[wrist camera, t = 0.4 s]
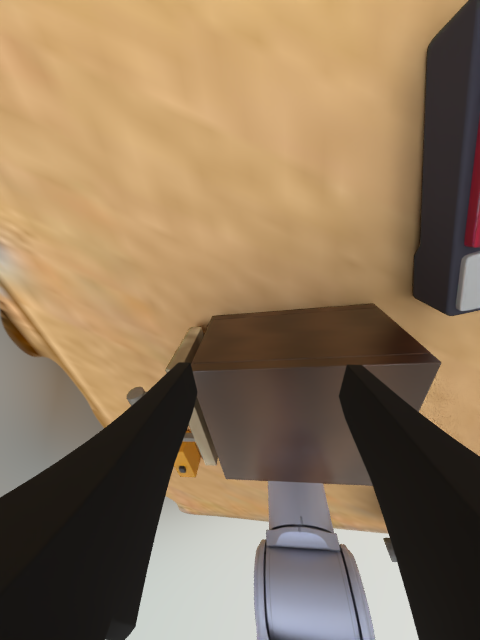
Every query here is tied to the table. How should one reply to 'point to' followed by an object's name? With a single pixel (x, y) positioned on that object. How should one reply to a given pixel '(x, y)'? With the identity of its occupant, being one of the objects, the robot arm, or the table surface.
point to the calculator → (451, 169)
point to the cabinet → (299, 388)
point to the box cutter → (187, 459)
